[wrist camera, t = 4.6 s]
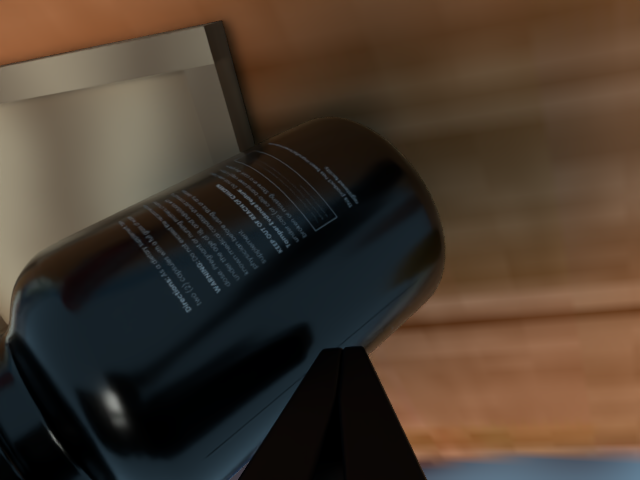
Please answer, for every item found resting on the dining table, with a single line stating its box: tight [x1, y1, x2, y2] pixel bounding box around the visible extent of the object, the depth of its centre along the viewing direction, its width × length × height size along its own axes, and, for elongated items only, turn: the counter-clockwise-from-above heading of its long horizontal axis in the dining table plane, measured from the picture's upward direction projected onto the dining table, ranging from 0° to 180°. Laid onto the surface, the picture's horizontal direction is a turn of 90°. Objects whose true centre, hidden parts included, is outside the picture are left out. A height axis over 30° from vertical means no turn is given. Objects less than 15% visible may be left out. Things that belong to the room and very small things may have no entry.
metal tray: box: [0, 21, 255, 335], centre depth 17 cm, size 16×12×2 cm
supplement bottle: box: [0, 117, 445, 480], centre depth 11 cm, size 7×7×12 cm
